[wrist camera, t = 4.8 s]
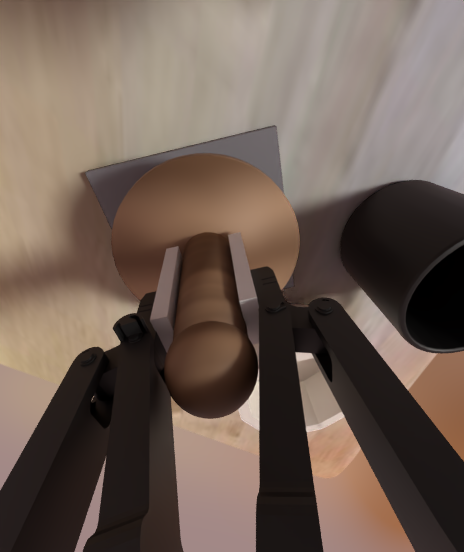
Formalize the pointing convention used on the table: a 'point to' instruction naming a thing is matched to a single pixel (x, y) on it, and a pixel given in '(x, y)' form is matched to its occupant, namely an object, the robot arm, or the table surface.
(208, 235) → the lid
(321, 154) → the table surface
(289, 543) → the robot arm
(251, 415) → the bowl
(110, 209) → the mat
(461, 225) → the mug
